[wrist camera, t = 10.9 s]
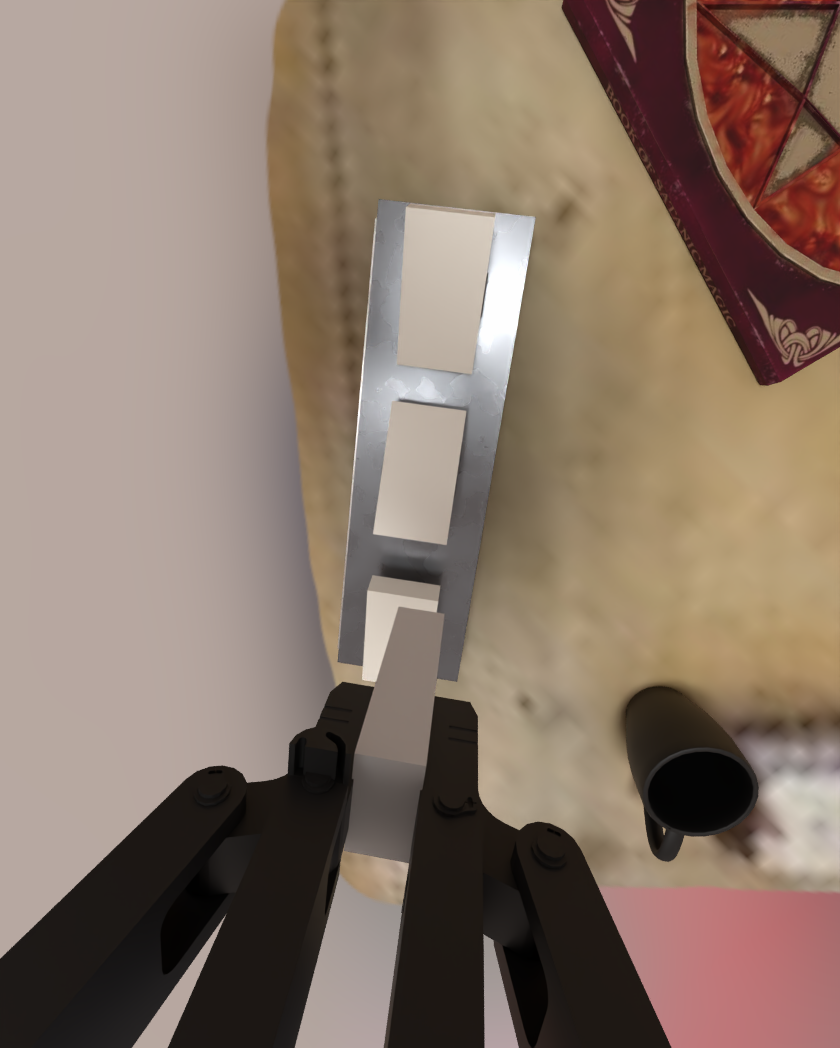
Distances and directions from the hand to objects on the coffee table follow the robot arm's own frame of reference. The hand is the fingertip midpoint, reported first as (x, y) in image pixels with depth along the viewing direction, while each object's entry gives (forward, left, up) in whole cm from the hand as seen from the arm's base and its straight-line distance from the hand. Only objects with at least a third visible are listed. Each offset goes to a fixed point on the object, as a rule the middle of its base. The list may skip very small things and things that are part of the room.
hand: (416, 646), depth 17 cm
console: (-1, -2, -28) cm, 28 cm away
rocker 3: (+11, -2, -22) cm, 25 cm away
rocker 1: (-14, -2, -22) cm, 26 cm away
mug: (+21, +21, -28) cm, 41 cm away
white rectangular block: (-1, -2, -22) cm, 22 cm away
